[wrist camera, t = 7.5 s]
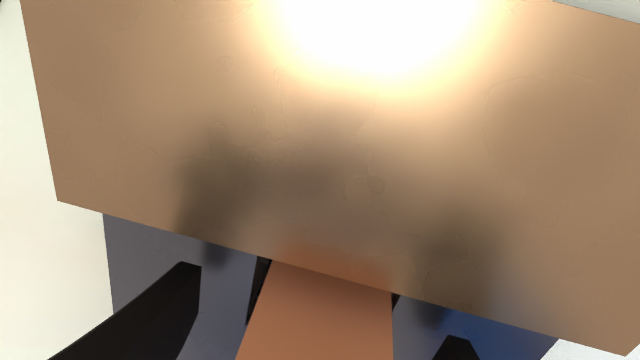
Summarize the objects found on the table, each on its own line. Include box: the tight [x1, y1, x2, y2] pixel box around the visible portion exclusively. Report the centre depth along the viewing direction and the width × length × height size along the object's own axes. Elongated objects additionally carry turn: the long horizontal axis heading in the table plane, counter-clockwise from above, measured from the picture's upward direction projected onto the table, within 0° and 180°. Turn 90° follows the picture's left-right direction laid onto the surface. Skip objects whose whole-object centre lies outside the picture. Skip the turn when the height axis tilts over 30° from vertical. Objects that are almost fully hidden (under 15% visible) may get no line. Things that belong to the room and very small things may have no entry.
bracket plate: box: [20, 0, 640, 360], centre depth 12 cm, size 18×14×5 cm
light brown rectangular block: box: [235, 260, 393, 360], centre depth 11 cm, size 3×3×7 cm
